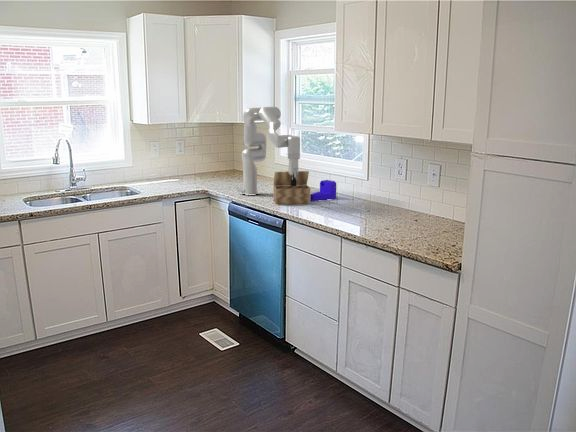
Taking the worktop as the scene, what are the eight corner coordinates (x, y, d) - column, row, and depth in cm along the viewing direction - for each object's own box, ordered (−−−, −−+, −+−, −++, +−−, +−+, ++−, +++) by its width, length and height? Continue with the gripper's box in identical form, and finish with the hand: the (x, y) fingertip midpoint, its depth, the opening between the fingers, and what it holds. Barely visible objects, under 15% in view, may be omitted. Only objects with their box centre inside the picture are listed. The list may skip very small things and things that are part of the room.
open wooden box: (275, 204, 333) (275, 189, 330) (273, 200, 344) (273, 185, 342) (310, 203, 336) (310, 188, 334) (306, 200, 347) (306, 185, 345)
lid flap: (274, 172, 333) (274, 171, 333) (273, 185, 342) (273, 185, 342) (308, 171, 336) (308, 170, 337) (306, 184, 345) (306, 184, 345)
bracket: (324, 196, 360) (324, 179, 357) (336, 198, 352) (336, 181, 349) (305, 200, 348) (305, 182, 345) (316, 202, 340) (317, 184, 338)
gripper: (286, 155, 331) (286, 183, 336) (289, 158, 317) (289, 188, 321) (297, 154, 332) (297, 183, 337) (301, 157, 318) (301, 187, 322)
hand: (293, 185), depth 329 cm, fingers closed
